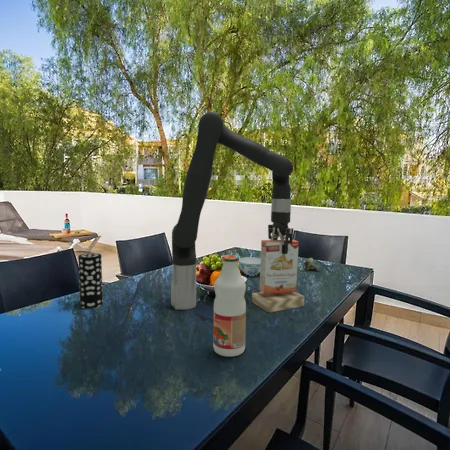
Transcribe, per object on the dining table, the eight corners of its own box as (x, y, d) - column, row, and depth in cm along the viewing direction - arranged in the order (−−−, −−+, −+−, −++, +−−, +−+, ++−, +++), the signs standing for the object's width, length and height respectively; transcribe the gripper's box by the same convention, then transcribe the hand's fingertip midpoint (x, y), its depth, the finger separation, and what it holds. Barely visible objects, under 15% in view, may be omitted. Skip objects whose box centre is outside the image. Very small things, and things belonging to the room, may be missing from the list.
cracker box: (264, 295, 132) (266, 242, 129) (259, 290, 138) (260, 239, 135) (297, 292, 136) (299, 241, 133) (290, 288, 141) (292, 238, 139)
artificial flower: (277, 272, 192) (278, 254, 194) (315, 276, 194) (316, 259, 196) (281, 272, 184) (282, 253, 185) (321, 276, 186) (322, 258, 187)
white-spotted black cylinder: (75, 306, 132) (73, 256, 130) (92, 299, 140) (91, 252, 137) (90, 310, 128) (88, 258, 126) (107, 303, 136) (105, 254, 133)
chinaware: (233, 276, 176) (234, 262, 175) (240, 269, 191) (241, 256, 190) (262, 279, 172) (262, 264, 171) (267, 272, 186) (267, 258, 185)
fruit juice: (247, 356, 96) (249, 259, 92) (214, 358, 95) (215, 260, 91) (242, 341, 105) (244, 252, 101) (212, 342, 104) (212, 253, 100)
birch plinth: (268, 312, 128) (268, 302, 128) (252, 302, 139) (252, 293, 138) (304, 305, 136) (304, 296, 135) (286, 296, 146) (286, 287, 146)
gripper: (262, 209, 137) (261, 249, 139) (284, 212, 125) (282, 256, 127) (278, 208, 141) (276, 248, 143) (300, 211, 128) (298, 255, 130)
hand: (279, 252), depth 135 cm, fingers closed on cracker box, 6 cm apart
